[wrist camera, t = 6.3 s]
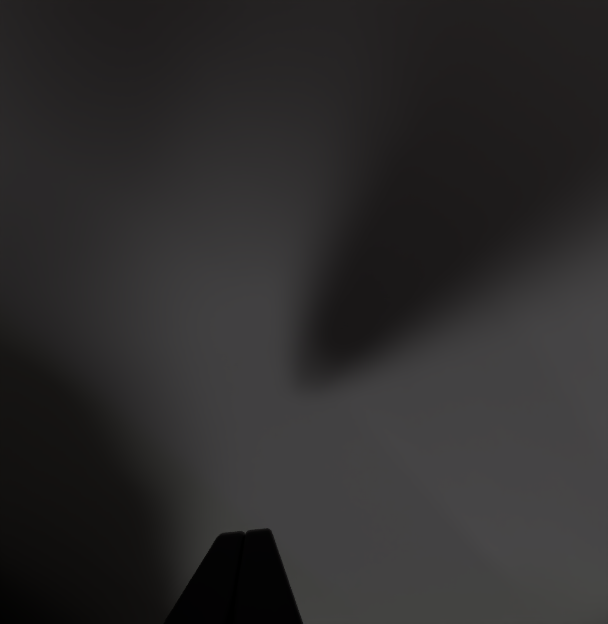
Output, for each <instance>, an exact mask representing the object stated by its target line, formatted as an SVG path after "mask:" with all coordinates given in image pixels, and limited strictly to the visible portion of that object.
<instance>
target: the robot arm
mask: <svg viewBox="0 0 608 624" xmlns="http://www.w3.org/2000/svg"><path fill="white" fill-rule="evenodd" d="M164 624H303V622H302V619H301V616H300V613H299V610H298V607H297V604H296V601H295V598H294V595H293V592H292V589H291V587H290V584H289V581H288V578H287V575H286V572H285V569H284V566H283V563H282V560H281V557H280V554H279V551H278V548H277V545H276V542H275V540H274V537H273V534H272V531H271V530H270V529H268V528H266V529H256V530H249V531H247V532H246V534H245V533H244V532H242V531H237V532H227V533H222V534H220V535H219V536H218V537H217V538H216V540H215V541H214V543H213V544H212V546H211V548H210V549H209V551H208V553H207V554H206V556H205V557H204V559H203V561H202V562H201V564H200V565H199V567H198V569H197V570H196V572H195V574H194V575H193V577H192V578H191V580H190V582H189V583H188V585H187V586H186V588H185V590H184V591H183V593H182V595H181V596H180V598H179V599H178V601H177V603H176V604H175V606H174V607H173V609H172V611H171V612H170V614H169V615H168V617H167V619H166V620H165V622H164Z"/></svg>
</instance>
